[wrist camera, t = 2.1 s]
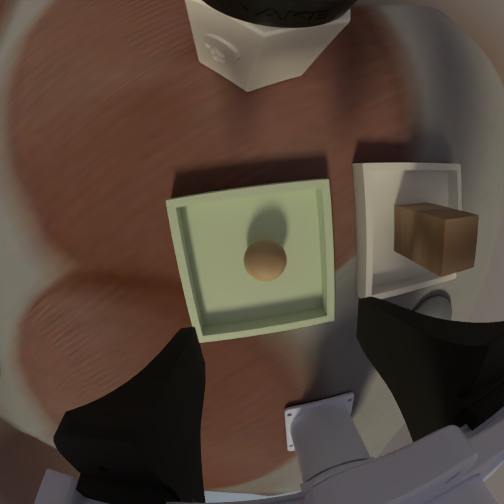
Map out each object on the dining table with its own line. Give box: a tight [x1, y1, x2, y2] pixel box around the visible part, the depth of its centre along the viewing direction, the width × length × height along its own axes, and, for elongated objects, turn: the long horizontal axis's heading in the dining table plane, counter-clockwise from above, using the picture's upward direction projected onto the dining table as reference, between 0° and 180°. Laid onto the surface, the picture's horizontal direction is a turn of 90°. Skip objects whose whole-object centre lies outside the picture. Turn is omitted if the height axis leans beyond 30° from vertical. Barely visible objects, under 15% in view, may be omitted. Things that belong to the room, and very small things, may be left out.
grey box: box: [352, 162, 462, 299], centre depth 21 cm, size 11×11×2 cm
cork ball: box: [244, 239, 287, 282], centre depth 19 cm, size 3×3×3 cm
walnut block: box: [394, 202, 478, 277], centre depth 18 cm, size 4×4×6 cm
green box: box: [166, 178, 334, 343], centre depth 20 cm, size 11×11×2 cm
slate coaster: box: [414, 295, 452, 320], centre depth 25 cm, size 7×7×1 cm
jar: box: [185, 0, 357, 92], centre depth 11 cm, size 9×8×12 cm
